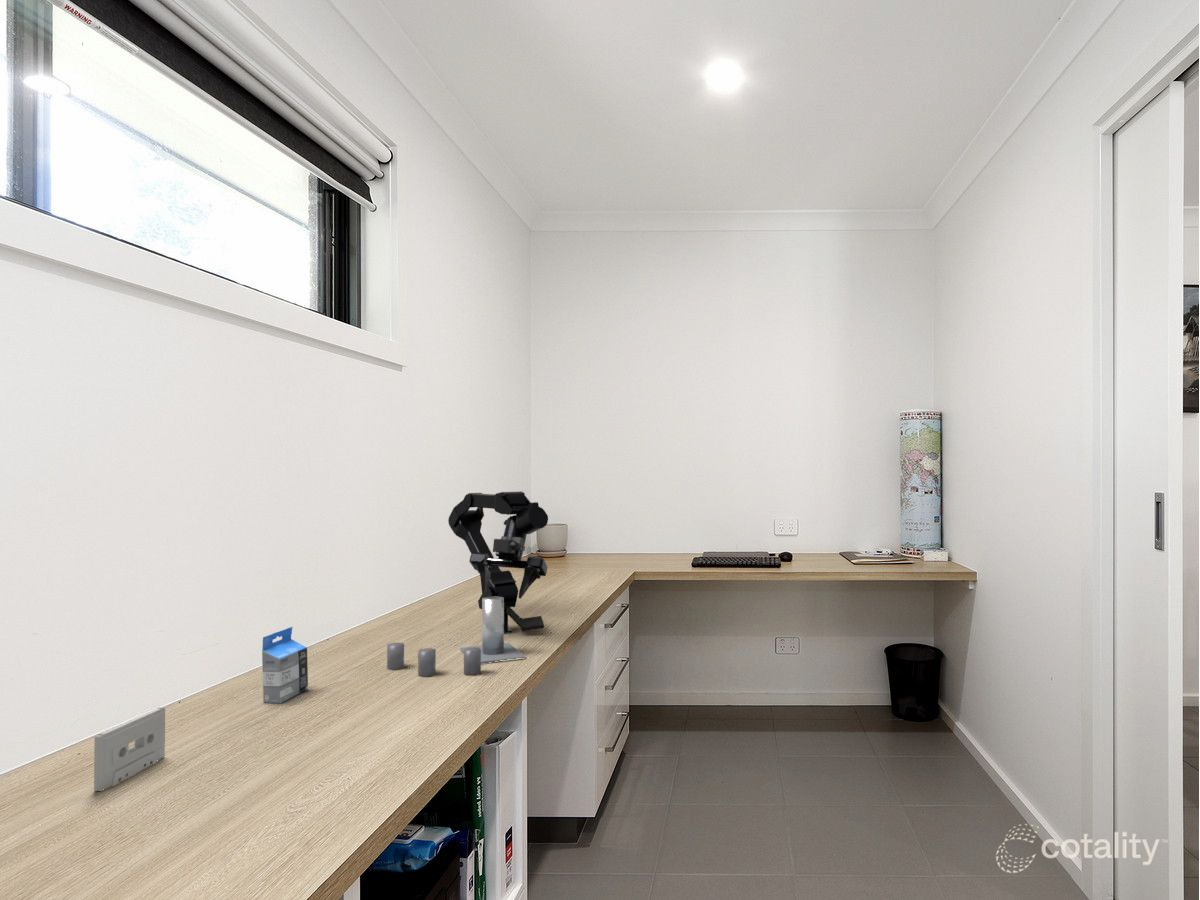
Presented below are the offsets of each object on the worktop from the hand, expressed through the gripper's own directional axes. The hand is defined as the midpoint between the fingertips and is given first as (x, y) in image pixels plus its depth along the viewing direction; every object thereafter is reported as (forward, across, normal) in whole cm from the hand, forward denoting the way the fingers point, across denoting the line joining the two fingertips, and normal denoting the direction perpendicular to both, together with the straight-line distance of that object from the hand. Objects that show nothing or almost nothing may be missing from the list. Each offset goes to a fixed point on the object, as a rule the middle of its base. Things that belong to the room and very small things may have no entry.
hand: (501, 596), depth 175 cm
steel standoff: (+13, +1, +1) cm, 13 cm away
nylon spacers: (+23, -8, -13) cm, 27 cm away
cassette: (+53, -29, -59) cm, 84 cm away
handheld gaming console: (0, +2, +20) cm, 20 cm away
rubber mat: (+14, +1, +1) cm, 14 cm away
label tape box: (+34, -28, -29) cm, 53 cm away
